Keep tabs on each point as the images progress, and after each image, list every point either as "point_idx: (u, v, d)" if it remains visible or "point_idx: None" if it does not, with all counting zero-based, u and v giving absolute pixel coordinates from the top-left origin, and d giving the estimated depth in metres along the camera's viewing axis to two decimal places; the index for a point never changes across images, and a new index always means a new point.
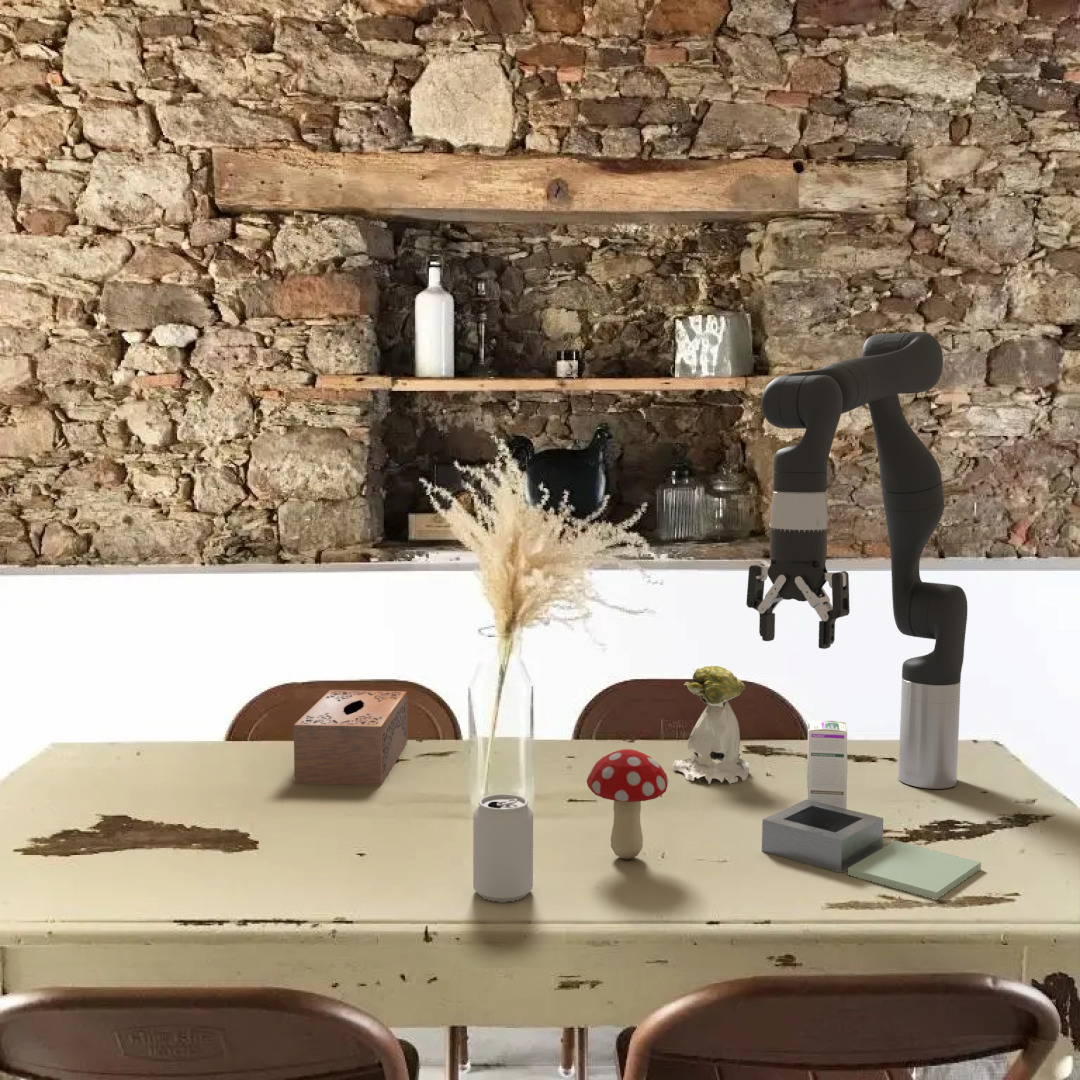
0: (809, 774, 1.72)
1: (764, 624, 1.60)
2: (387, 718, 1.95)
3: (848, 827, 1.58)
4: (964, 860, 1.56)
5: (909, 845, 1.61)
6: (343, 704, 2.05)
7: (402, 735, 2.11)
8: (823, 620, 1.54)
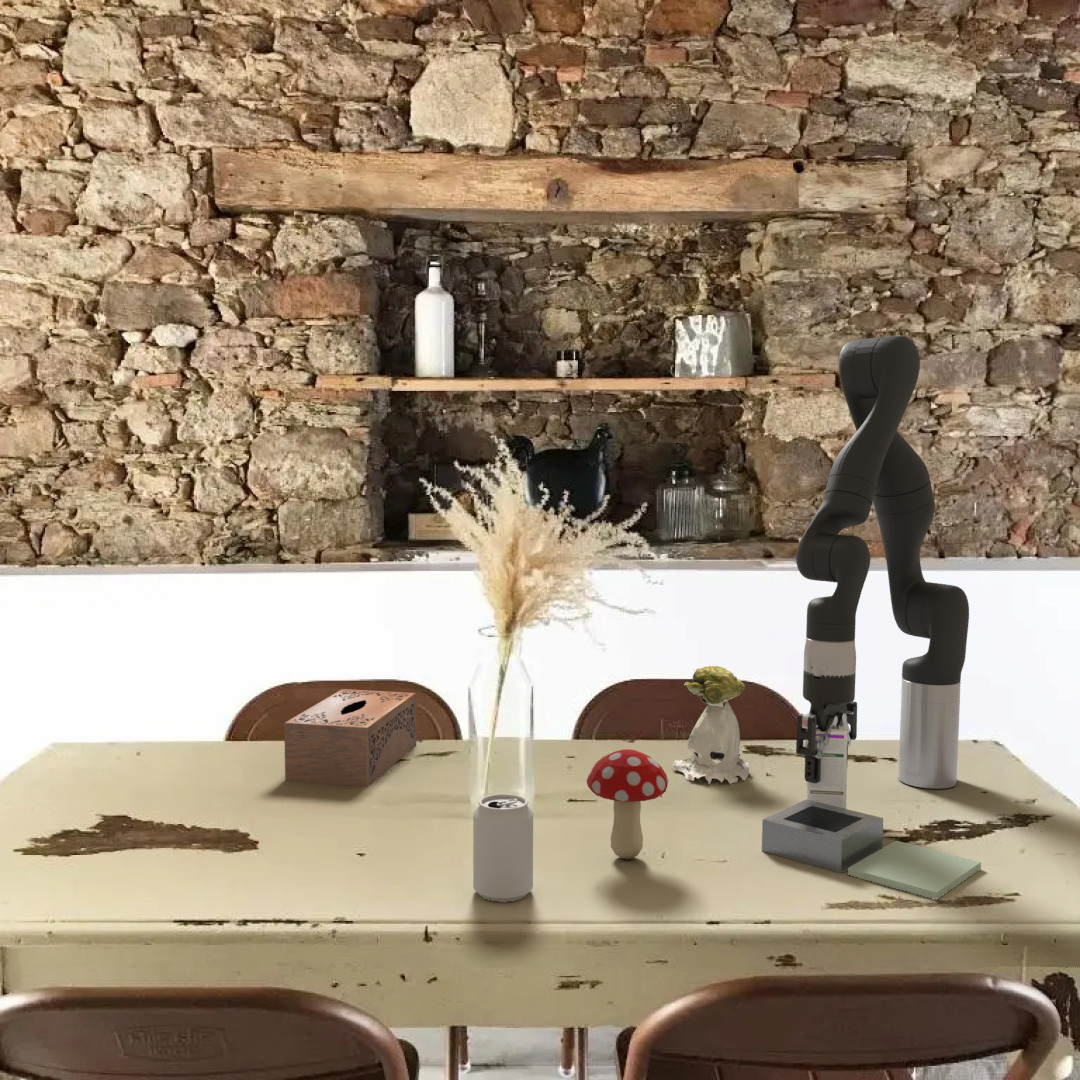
0: None
1: (819, 767, 1.70)
2: (379, 719, 1.94)
3: (848, 827, 1.58)
4: (964, 860, 1.56)
5: (909, 845, 1.61)
6: (345, 704, 2.05)
7: (407, 737, 2.10)
8: (847, 746, 1.76)
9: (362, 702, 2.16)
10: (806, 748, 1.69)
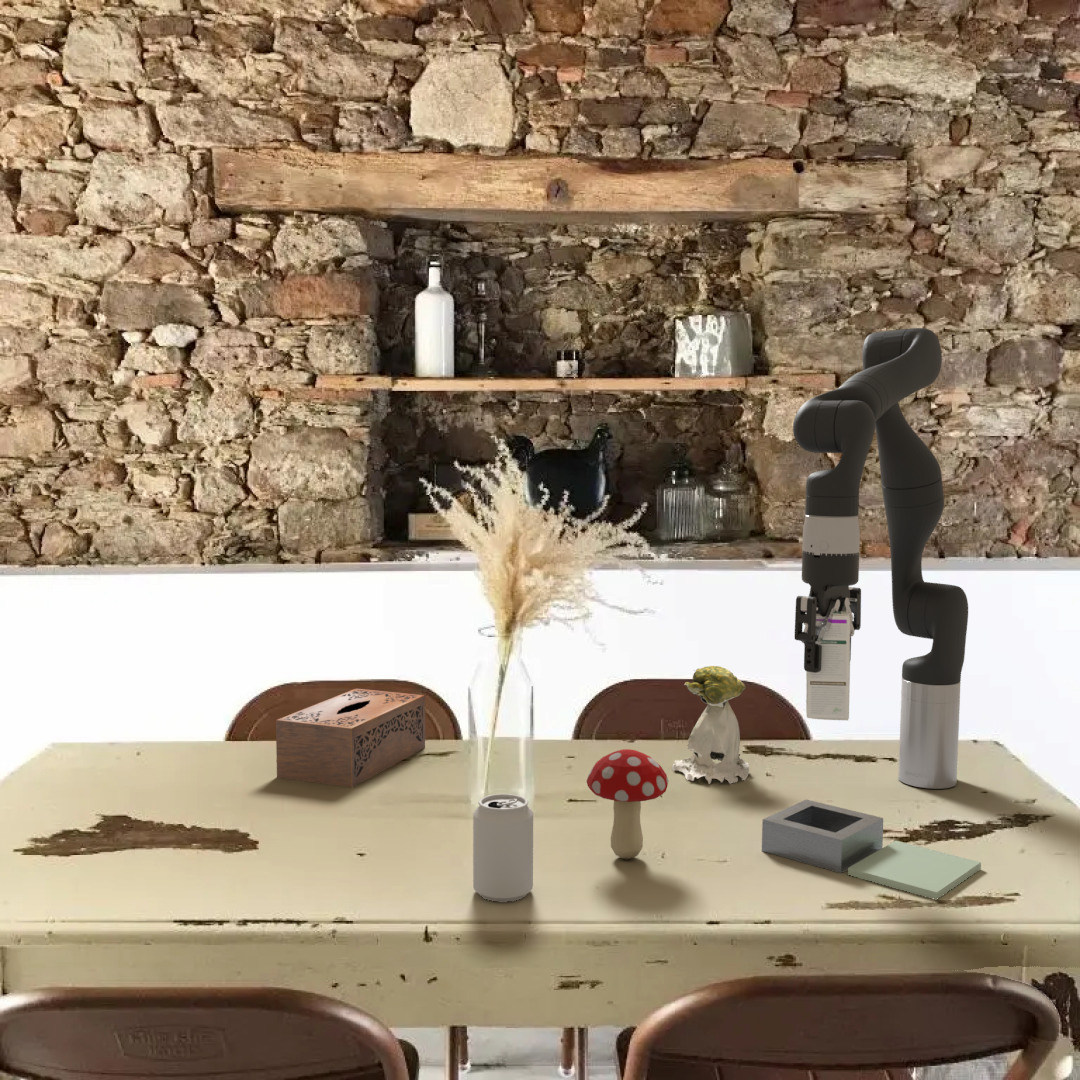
0: None
1: (820, 655, 1.56)
2: (369, 721, 1.94)
3: (848, 827, 1.58)
4: (964, 860, 1.56)
5: (909, 845, 1.61)
6: (348, 703, 2.05)
7: (411, 739, 2.08)
8: (851, 635, 1.62)
9: None
10: (805, 633, 1.54)
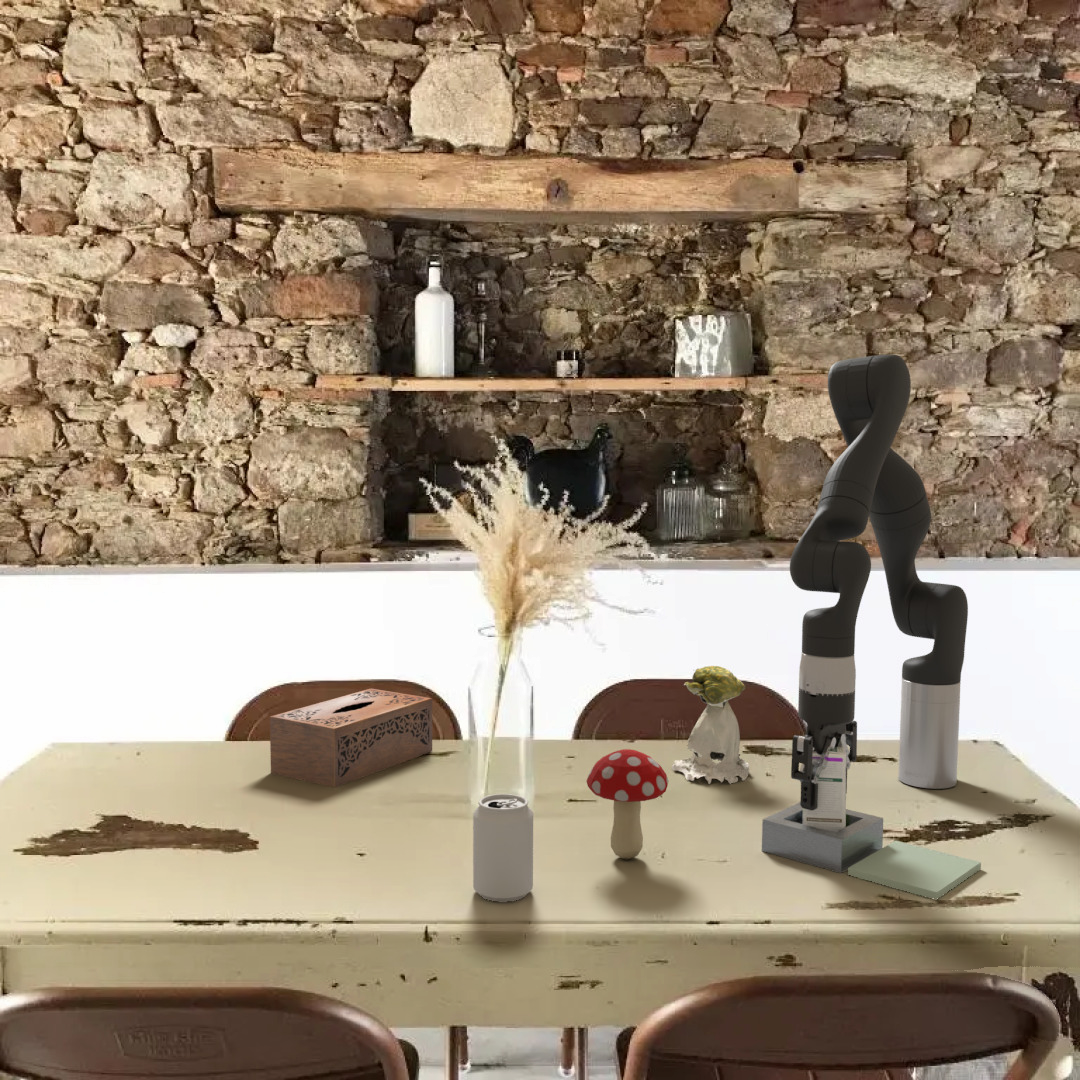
0: None
1: (816, 793, 1.57)
2: (357, 721, 1.93)
3: (848, 827, 1.58)
4: (964, 860, 1.56)
5: (909, 845, 1.61)
6: (351, 703, 2.06)
7: (413, 742, 2.06)
8: (847, 768, 1.63)
9: None
10: (802, 773, 1.56)
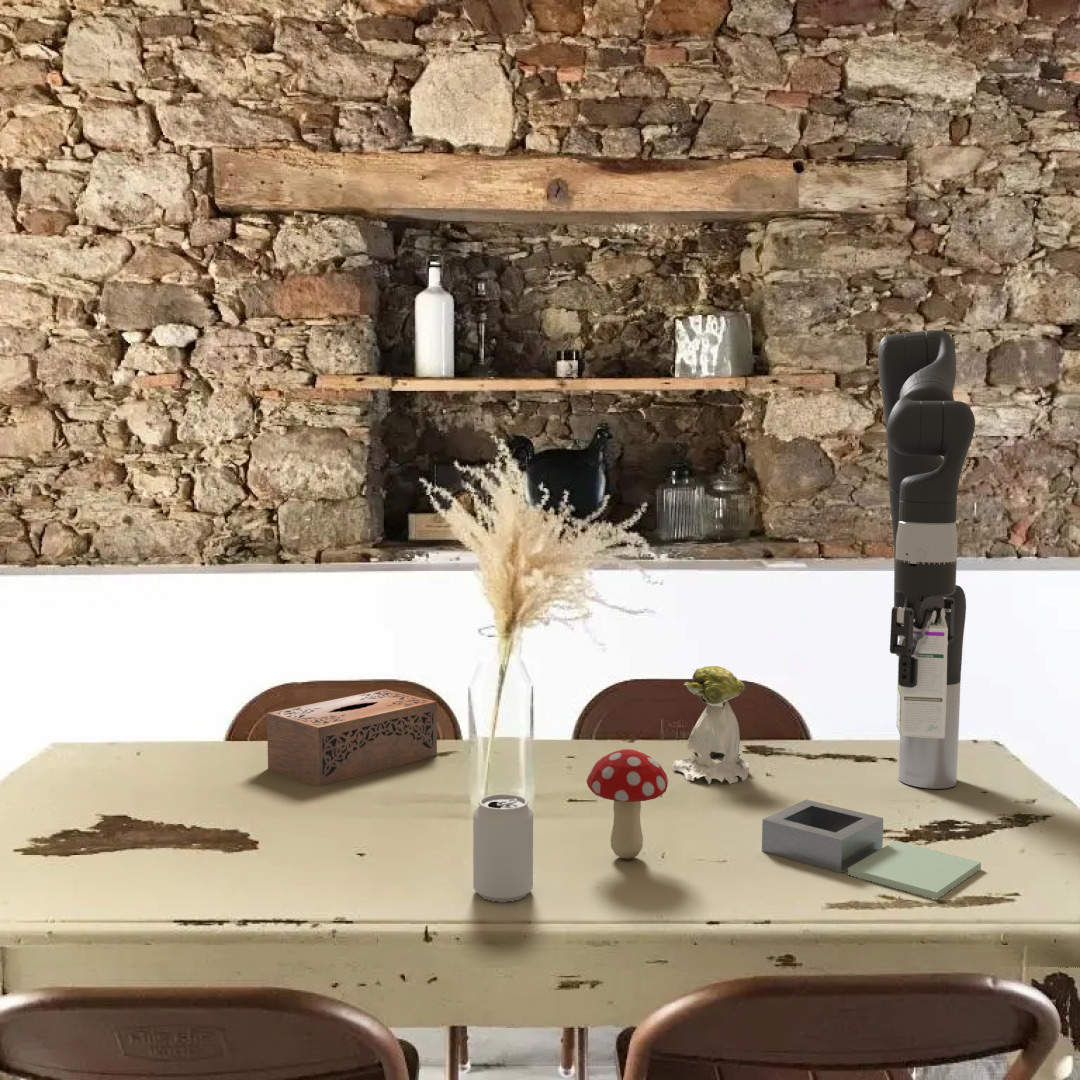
0: None
1: (916, 669, 1.48)
2: (345, 721, 1.93)
3: (848, 827, 1.58)
4: (964, 860, 1.56)
5: (909, 845, 1.61)
6: (354, 703, 2.06)
7: (414, 745, 2.04)
8: None
9: None
10: (902, 646, 1.46)
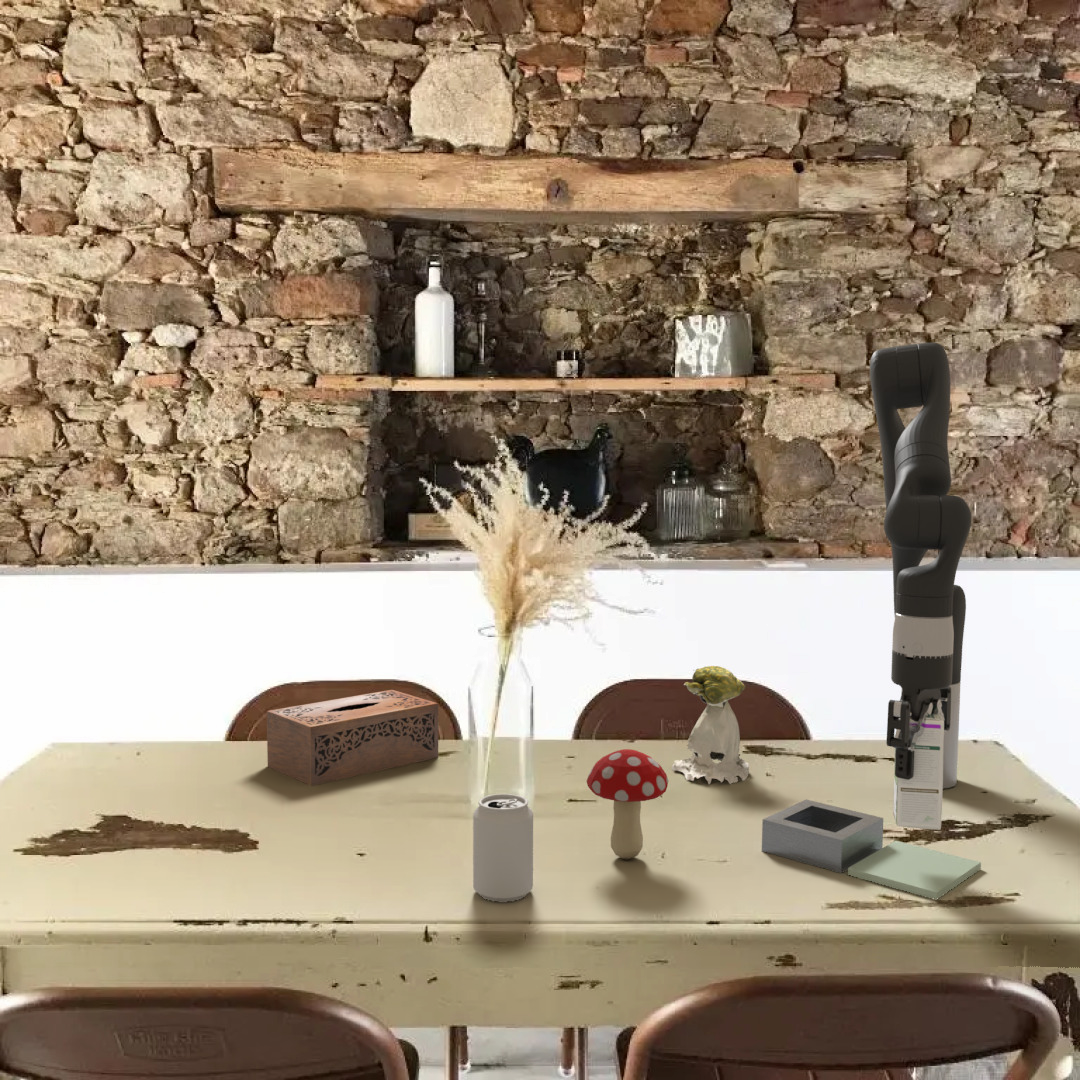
0: None
1: (912, 761, 1.49)
2: (339, 721, 1.93)
3: (848, 827, 1.58)
4: (964, 860, 1.56)
5: (909, 845, 1.61)
6: (355, 703, 2.06)
7: (413, 746, 2.03)
8: None
9: None
10: (898, 739, 1.47)
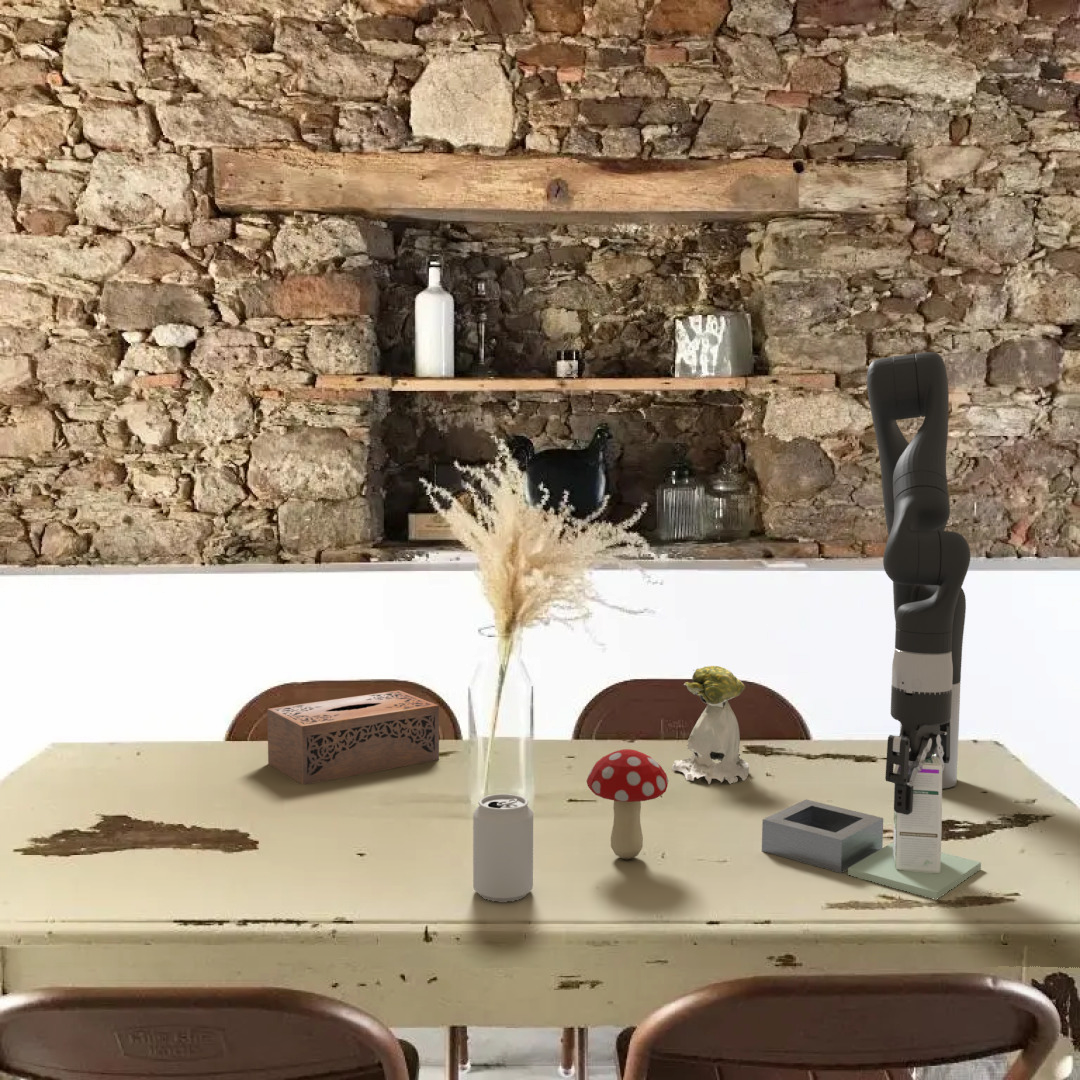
0: (898, 813, 1.51)
1: (911, 796, 1.49)
2: (333, 721, 1.93)
3: (848, 827, 1.58)
4: (964, 860, 1.56)
5: None
6: (357, 703, 2.06)
7: (412, 748, 2.02)
8: None
9: None
10: (897, 775, 1.47)
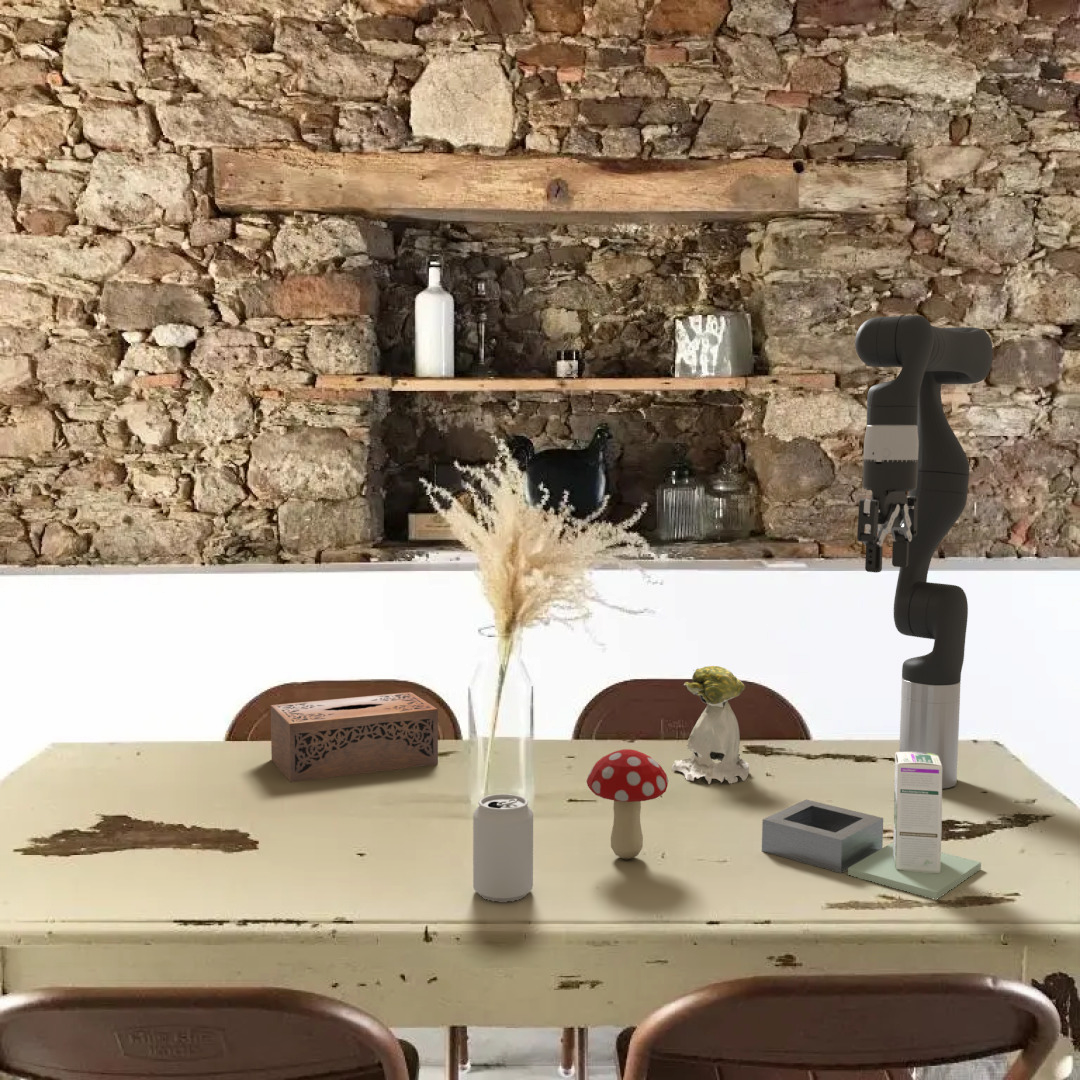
0: (898, 813, 1.51)
1: (881, 555, 1.65)
2: (323, 720, 1.93)
3: (848, 827, 1.58)
4: (964, 860, 1.56)
5: None
6: (360, 703, 2.06)
7: (408, 751, 2.00)
8: (908, 541, 1.71)
9: None
10: (868, 534, 1.63)
